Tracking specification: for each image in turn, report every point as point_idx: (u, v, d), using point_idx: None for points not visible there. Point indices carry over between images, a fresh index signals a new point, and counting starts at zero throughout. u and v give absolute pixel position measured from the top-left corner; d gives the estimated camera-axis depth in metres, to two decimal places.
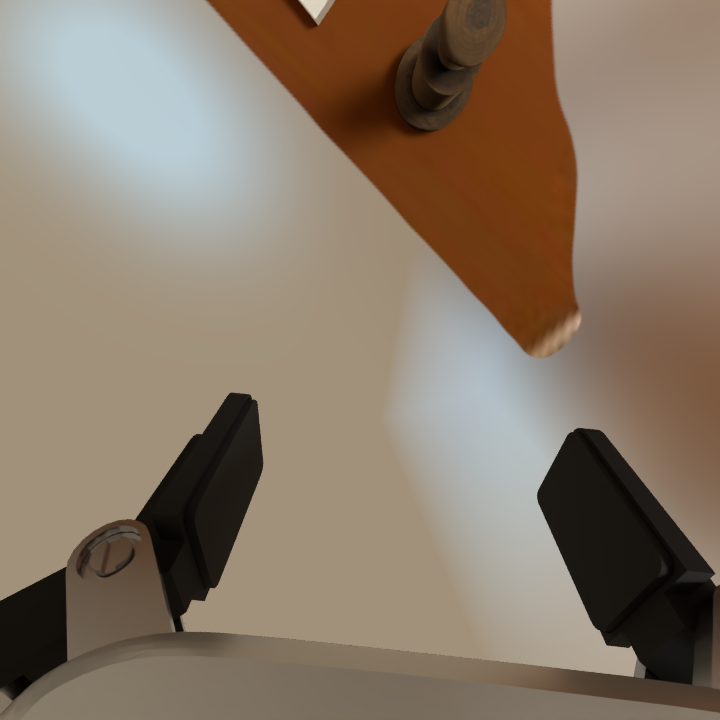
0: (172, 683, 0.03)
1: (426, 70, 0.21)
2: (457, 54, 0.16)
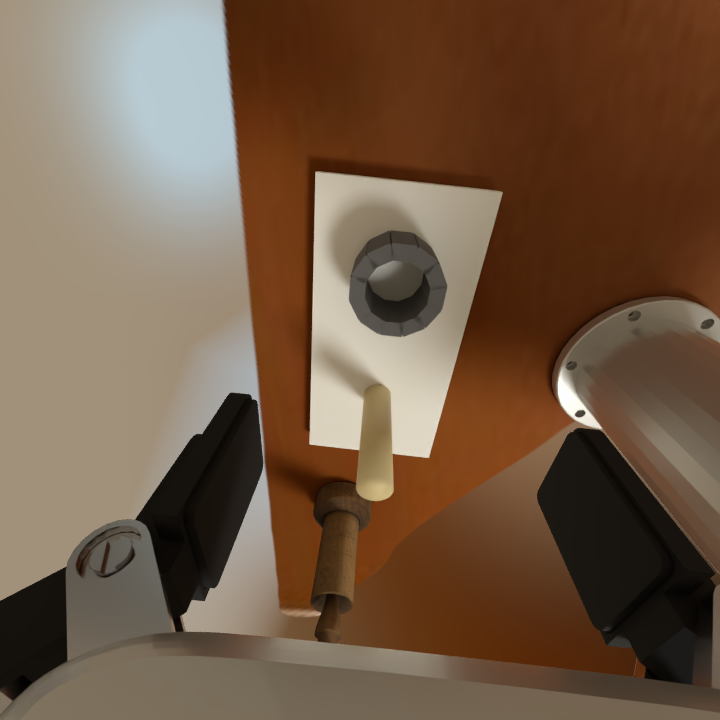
0: (172, 683, 0.03)
1: (315, 597, 0.31)
2: None
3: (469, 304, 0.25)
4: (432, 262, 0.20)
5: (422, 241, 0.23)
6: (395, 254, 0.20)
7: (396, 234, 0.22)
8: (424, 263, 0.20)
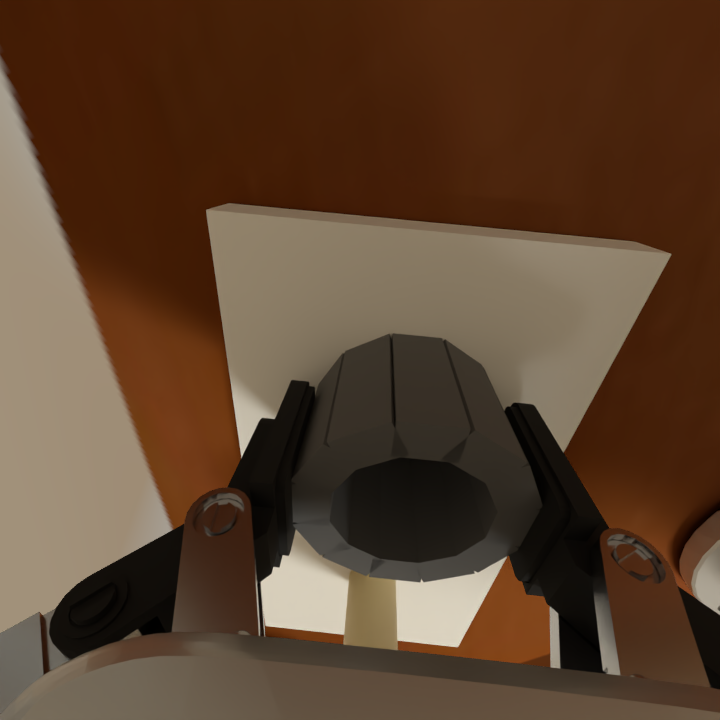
0: (172, 683, 0.03)
1: None
2: None
3: None
4: (509, 464, 0.07)
5: (466, 364, 0.10)
6: (406, 445, 0.07)
7: (406, 355, 0.09)
8: (486, 464, 0.07)
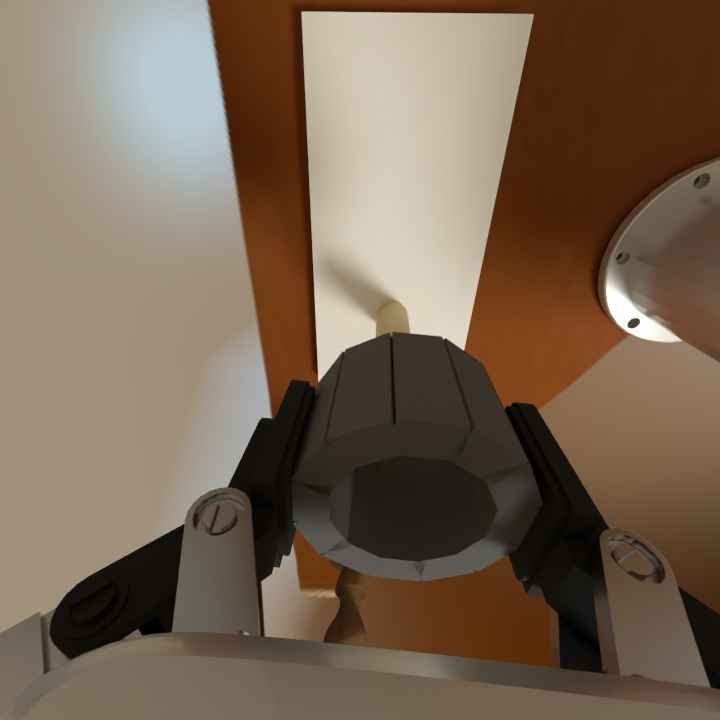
0: (172, 683, 0.03)
1: None
2: None
3: (496, 182, 0.21)
4: (510, 462, 0.07)
5: (466, 362, 0.10)
6: (406, 443, 0.07)
7: (406, 354, 0.09)
8: (486, 463, 0.07)
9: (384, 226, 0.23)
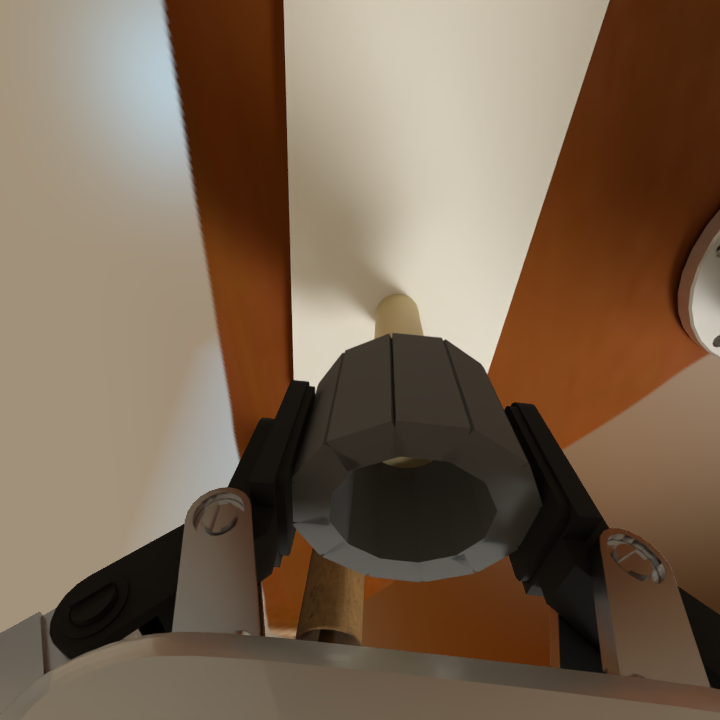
0: (172, 683, 0.03)
1: (302, 634, 0.20)
2: None
3: (566, 121, 0.14)
4: (509, 464, 0.07)
5: (466, 363, 0.10)
6: (406, 445, 0.07)
7: (406, 355, 0.09)
8: (486, 464, 0.07)
9: (394, 183, 0.16)
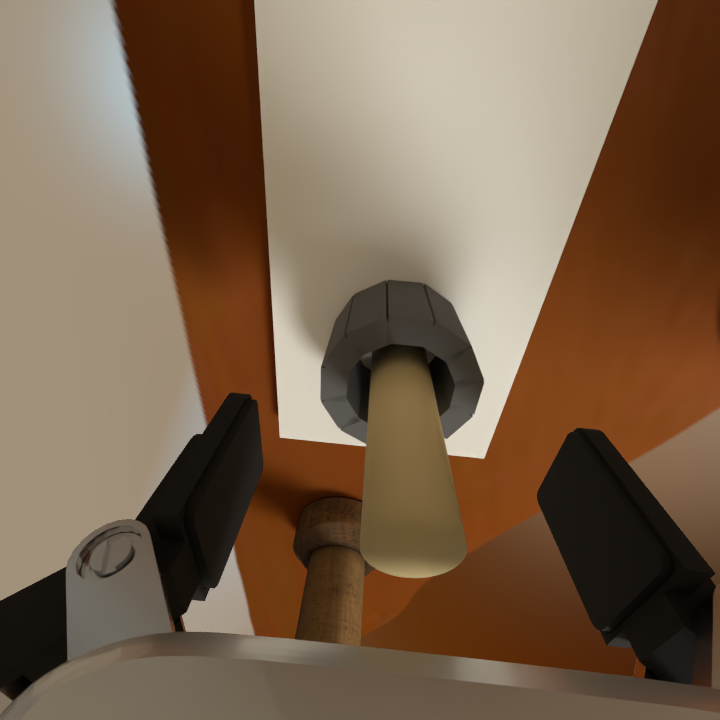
0: (172, 683, 0.03)
1: None
2: None
3: (610, 113, 0.11)
4: (459, 346, 0.12)
5: (438, 298, 0.14)
6: (395, 334, 0.12)
7: (396, 290, 0.14)
8: (445, 348, 0.12)
9: (395, 189, 0.13)
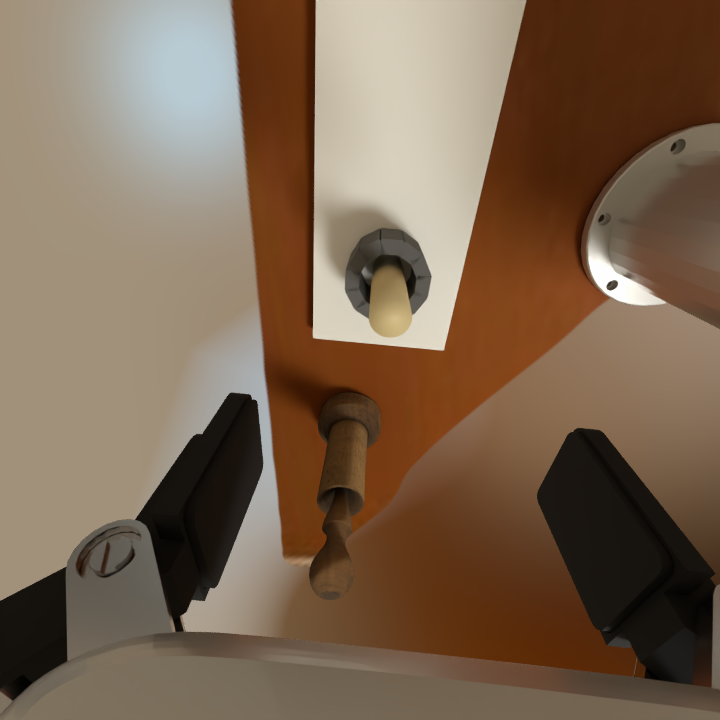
0: (172, 683, 0.03)
1: (322, 494, 0.28)
2: (311, 585, 0.23)
3: (491, 136, 0.23)
4: (417, 255, 0.23)
5: (409, 237, 0.25)
6: (384, 248, 0.23)
7: (385, 231, 0.25)
8: (410, 256, 0.23)
9: (384, 175, 0.24)
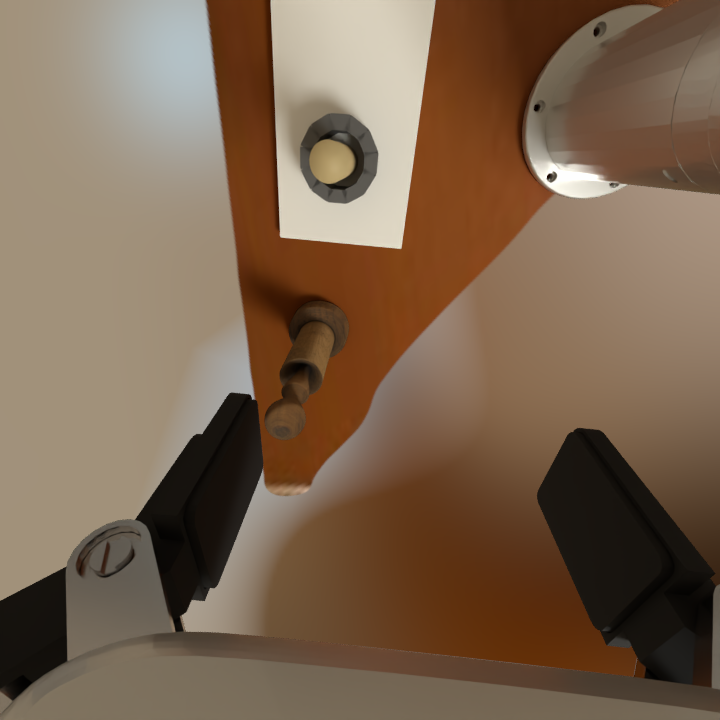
0: (172, 683, 0.03)
1: (284, 370, 0.30)
2: (266, 427, 0.25)
3: (430, 20, 0.25)
4: (363, 129, 0.25)
5: None
6: (333, 123, 0.25)
7: None
8: (357, 131, 0.25)
9: (336, 63, 0.27)
